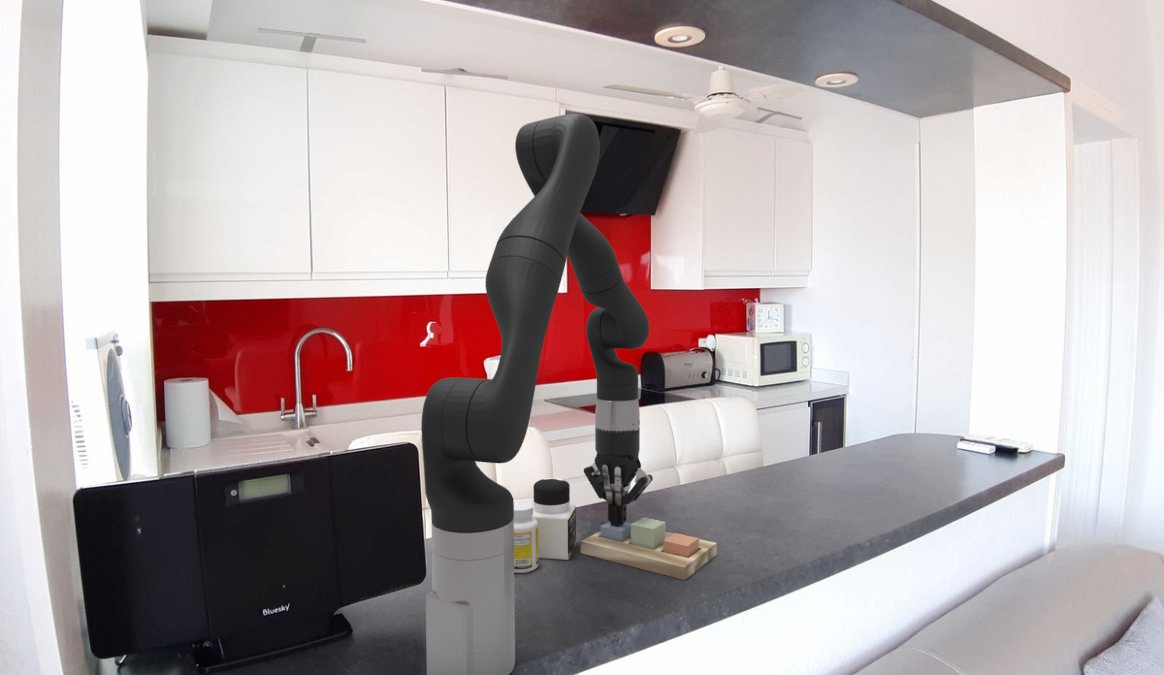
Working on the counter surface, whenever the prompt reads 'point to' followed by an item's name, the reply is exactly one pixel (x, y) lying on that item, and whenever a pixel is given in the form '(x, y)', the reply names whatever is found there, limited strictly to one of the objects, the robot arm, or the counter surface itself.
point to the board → (649, 556)
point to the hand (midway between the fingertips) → (617, 524)
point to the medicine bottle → (554, 519)
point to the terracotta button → (681, 545)
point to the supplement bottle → (525, 538)
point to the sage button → (648, 533)
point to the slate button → (616, 532)
